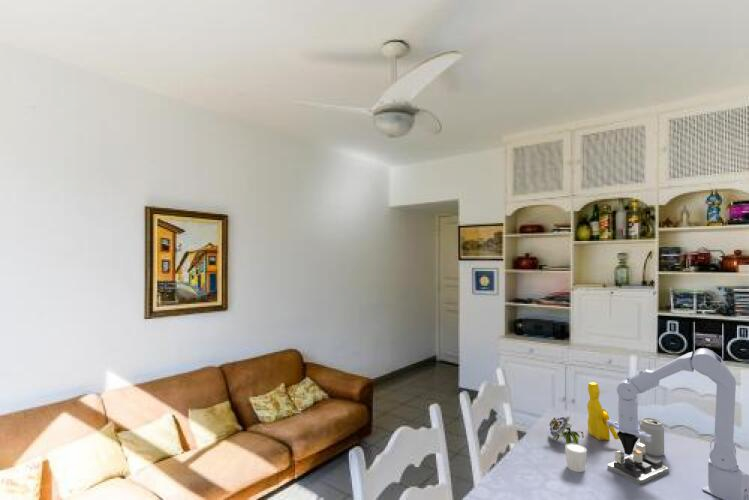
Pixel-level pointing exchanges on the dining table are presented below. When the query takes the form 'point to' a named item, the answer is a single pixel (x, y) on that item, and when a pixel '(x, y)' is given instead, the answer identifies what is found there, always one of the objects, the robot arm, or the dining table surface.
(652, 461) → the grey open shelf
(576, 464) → the white cylinder
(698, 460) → the dining table surface
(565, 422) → the passion flower
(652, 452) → the can
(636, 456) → the handle
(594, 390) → the figure statuette
